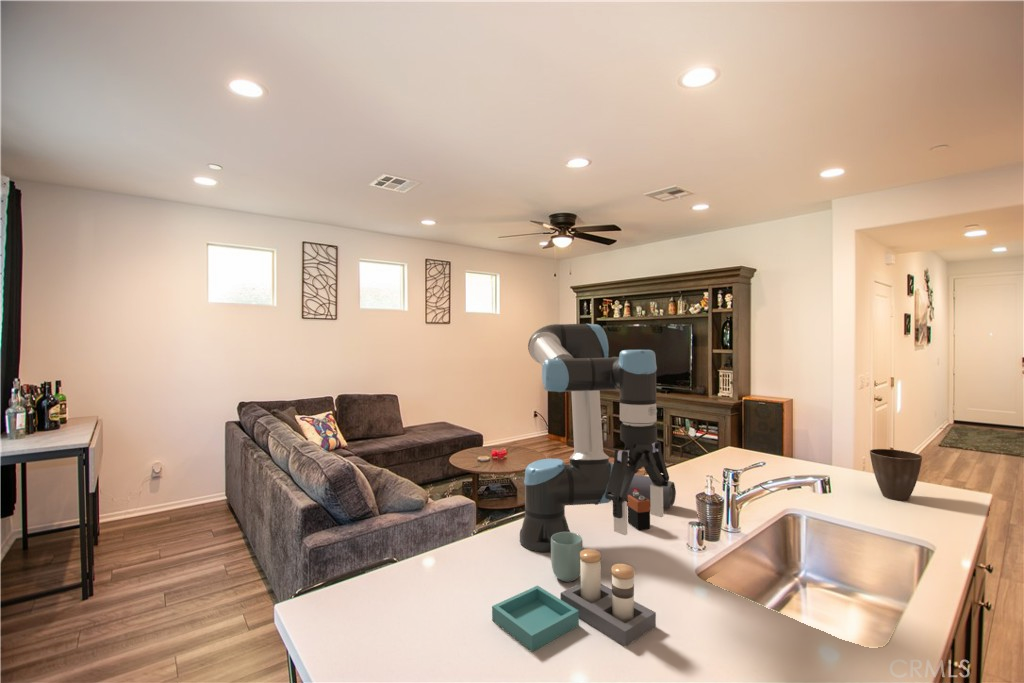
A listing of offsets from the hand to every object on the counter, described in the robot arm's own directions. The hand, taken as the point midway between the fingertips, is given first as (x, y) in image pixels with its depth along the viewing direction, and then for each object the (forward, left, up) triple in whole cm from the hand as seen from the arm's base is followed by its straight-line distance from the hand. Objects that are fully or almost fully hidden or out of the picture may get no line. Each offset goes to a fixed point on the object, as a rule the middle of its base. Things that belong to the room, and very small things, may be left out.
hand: (639, 523), depth 100 cm
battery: (-31, +41, -21) cm, 56 cm away
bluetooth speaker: (-43, +58, -21) cm, 76 cm away
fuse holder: (-6, -4, -21) cm, 22 cm away
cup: (-23, +1, -21) cm, 31 cm away
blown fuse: (-2, -4, -21) cm, 21 cm away
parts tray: (-14, -17, -21) cm, 31 cm away
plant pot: (+13, +133, -21) cm, 136 cm away
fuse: (-11, -4, -21) cm, 24 cm away
